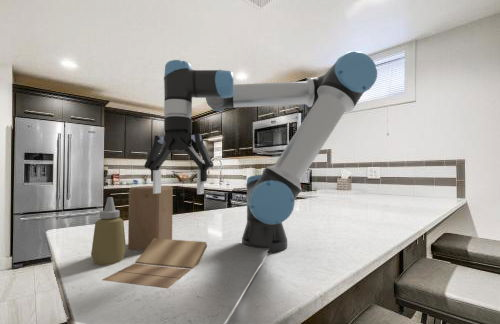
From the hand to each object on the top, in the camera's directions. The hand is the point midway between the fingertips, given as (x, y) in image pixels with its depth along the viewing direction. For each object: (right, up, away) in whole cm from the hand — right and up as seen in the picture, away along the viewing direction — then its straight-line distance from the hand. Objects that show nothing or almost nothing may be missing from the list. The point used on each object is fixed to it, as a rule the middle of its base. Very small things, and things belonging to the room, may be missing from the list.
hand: (178, 193), depth 72 cm
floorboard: (-3, -18, -13) cm, 23 cm away
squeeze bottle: (-17, -19, -4) cm, 26 cm away
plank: (0, -16, -4) cm, 17 cm away
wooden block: (-11, -19, +10) cm, 24 cm away
